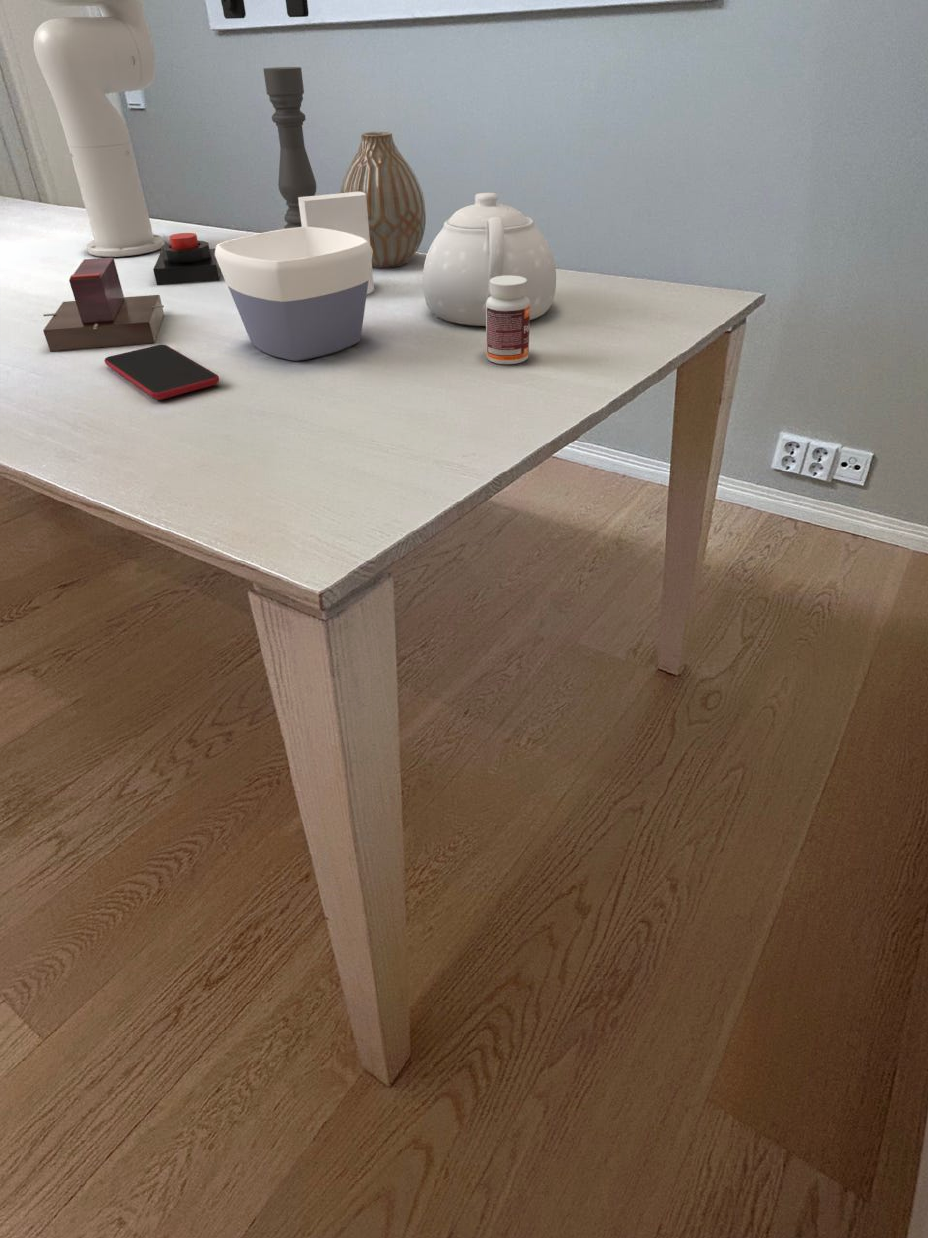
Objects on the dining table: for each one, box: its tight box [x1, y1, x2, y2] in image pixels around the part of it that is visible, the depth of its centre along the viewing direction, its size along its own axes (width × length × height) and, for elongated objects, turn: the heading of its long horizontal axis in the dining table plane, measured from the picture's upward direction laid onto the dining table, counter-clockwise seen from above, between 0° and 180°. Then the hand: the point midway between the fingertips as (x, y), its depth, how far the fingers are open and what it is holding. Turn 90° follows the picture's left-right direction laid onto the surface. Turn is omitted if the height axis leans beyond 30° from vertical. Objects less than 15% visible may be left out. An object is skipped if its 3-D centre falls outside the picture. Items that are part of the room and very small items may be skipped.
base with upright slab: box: [298, 192, 375, 295], centre depth 109 cm, size 9×9×12 cm
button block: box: [152, 239, 222, 286], centre depth 121 cm, size 11×9×4 cm
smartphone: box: [103, 344, 220, 401], centre depth 87 cm, size 7×1×15 cm
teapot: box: [422, 192, 557, 327], centre depth 100 cm, size 19×18×14 cm
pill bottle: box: [485, 275, 531, 365], centre depth 87 cm, size 5×5×8 cm
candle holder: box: [262, 66, 318, 229], centre depth 127 cm, size 6×6×25 cm
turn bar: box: [68, 257, 125, 324], centre depth 97 cm, size 10×4×5 cm, turn 11°
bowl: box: [214, 227, 373, 362], centre depth 91 cm, size 15×15×11 cm
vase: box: [339, 131, 427, 269], centre depth 120 cm, size 13×13×18 cm
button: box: [168, 232, 199, 249], centre depth 120 cm, size 4×4×2 cm
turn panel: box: [42, 294, 165, 352], centre depth 99 cm, size 14×14×3 cm
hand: (267, 17), depth 94 cm, fingers open, 9 cm apart
